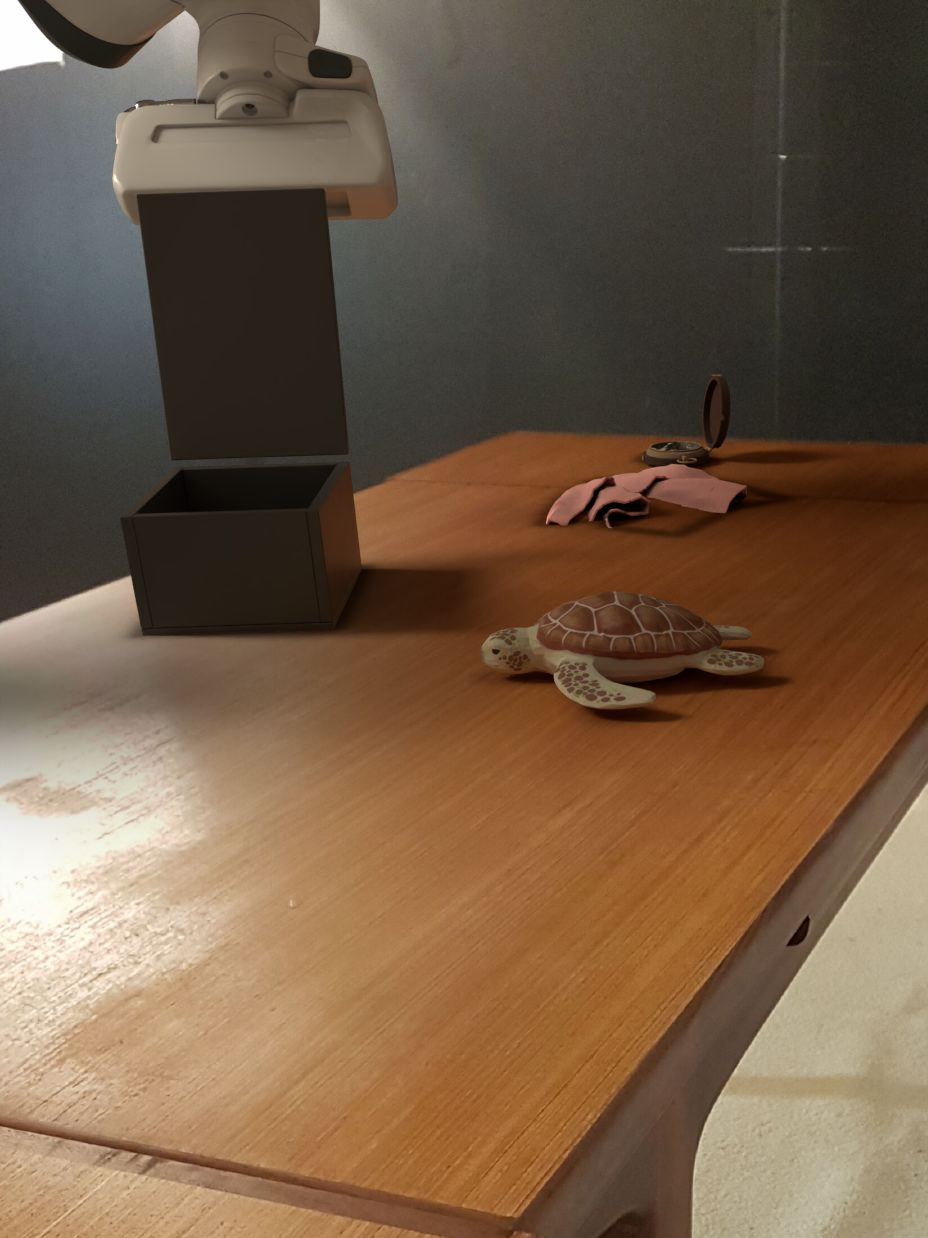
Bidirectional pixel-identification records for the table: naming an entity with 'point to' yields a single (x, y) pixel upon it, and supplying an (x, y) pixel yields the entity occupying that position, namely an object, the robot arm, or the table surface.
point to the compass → (713, 430)
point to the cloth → (647, 493)
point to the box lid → (245, 323)
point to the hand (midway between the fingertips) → (255, 261)
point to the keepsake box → (244, 548)
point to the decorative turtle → (617, 647)
